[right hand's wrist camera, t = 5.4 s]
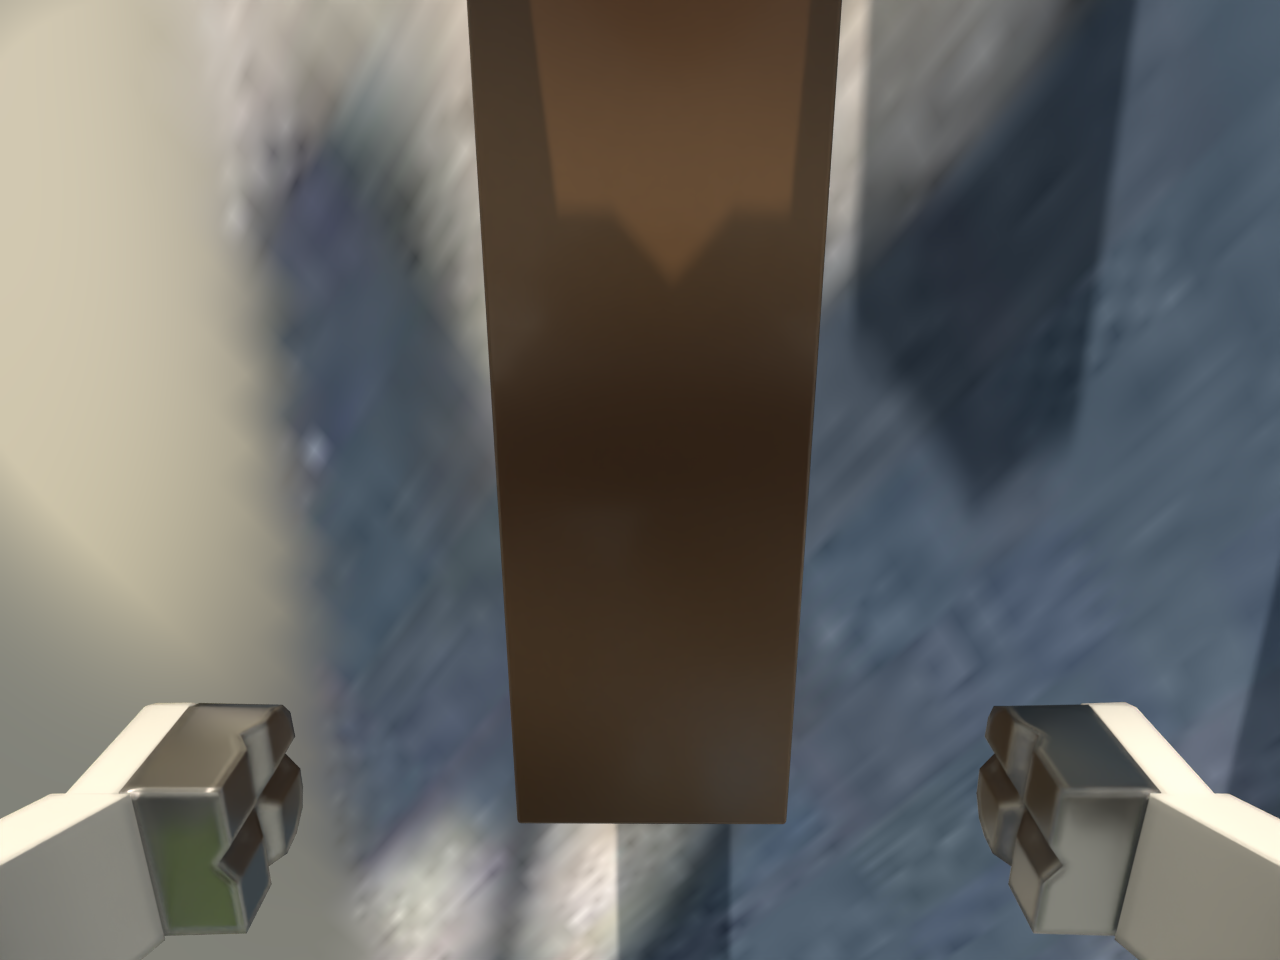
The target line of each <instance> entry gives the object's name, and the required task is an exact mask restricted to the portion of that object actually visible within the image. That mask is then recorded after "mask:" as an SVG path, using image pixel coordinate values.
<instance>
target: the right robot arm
mask: <svg viewBox="0 0 1280 960" xmlns="http://www.w3.org/2000/svg"><path fill="white" fill-rule="evenodd" d="M294 738H295V733H294V728H293V723H292V718H291V713H290V711H289V710H288V709H287V708H285V707H284V706H283V705H268V704H220V703H199V704H195V703H155V704H152V705H149V706H145V707H144V708H143V709H142V710H141V711H140V712H139V713H138V714H137V716H136V717H135V718H134V719H133V720H132V721H131V722H130V723H129V724H128V725H127V727H126V728H125V729H124V730H123V731H122V732H121V733H120V734H119V735H118V736H117V738H116V739H115V740H114V741H113V742H112V743H111V744H110V745H109V746H108V747H107V749H106V750H105V751H104V752H103V753H102V754H101V755H100V756H99V757H98V758H97V760H96V761H95V762H94V763H93V764H92V765H91V766H90V767H89V768H88V769H87V771H86V772H85V773H84V774H83V775H82V776H81V777H80V778H79V779H78V780H77V782H76V783H75V784H74V785H73V786H72V787H71V788H70V789H69V790H68V791H67V793H66V794H50V795H48V796H46V797H44V798H42V799H40V800H38V801H36V802H34V803H32V804H30V805H28V806H25V807H23V808H21V809H20V810H17V811H15V812H13V813H11V814H9V815H7V816H5V817H3V818H1V819H0V960H142V959H143V958H144V957H145V956H147V955H148V954H149V953H150V952H151V951H153V950H154V949H155V948H156V947H157V946H159V945H160V944H161V943H162V942H163V941H164V940H165V936H170V935H205V934H239V933H247V931H248V929H249V927H250V926H251V924H252V922H253V919H254V918H255V916H256V914H257V912H258V910H259V908H260V906H261V904H262V902H263V900H264V898H265V896H266V894H267V892H268V890H269V888H270V886H271V884H272V883H271V877H270V872H269V866H270V865H271V864H273V863H274V862H276V861H277V860H278V859H280V858H281V857H283V856H284V855H285V854H287V853H288V851H289V849H290V846H291V844H292V842H293V840H294V838H295V836H296V834H297V830H298V826H299V821H300V817H301V812H302V808H303V784H302V777H301V770H300V768H299V767H298V766H297V765H296V764H295V763H294V762H293V761H292V760H291V759H290V758H289V757H288V756H287V755H286V754H285V753H286V751H287V750H288V748H289V746H290V744H291V743H292V741H293V739H294ZM985 738H986V739H987V741H988V743H989V744H990V746H991V748H992V750H993V751H994V753H995V754H994V755H993V756H992V757H991V758H990V759H989V760H988V761H987V762H986V763H985V764H984V765H983V766H982V767H981V768H980V770H979V779H978V787H977V802H978V812H979V819H980V823H981V826H982V830H983V833H984V836H985V838H986V840H987V842H988V844H989V847H990V849H991V851H992V853H993V854H994V855H996V856H997V857H999V858H1000V859H1002V860H1003V861H1004V862H1006V863H1007V864H1009V865H1010V866H1011V872H1010V877H1009V883H1008V885H1009V886H1010V888H1011V890H1012V892H1013V894H1014V896H1015V898H1016V900H1017V902H1018V904H1019V906H1020V908H1021V910H1022V912H1023V914H1024V916H1025V918H1026V920H1027V921H1028V923H1029V925H1030V927H1031V929H1032V931H1033V933H1038V934H1073V935H1109V936H1115V940H1116V941H1117V942H1118V943H1119V944H1121V945H1122V946H1123V947H1124V948H1125V949H1127V950H1128V951H1129V952H1130V953H1131V954H1133V955H1134V956H1135V957H1136V958H1137V959H1139V960H1280V819H1279V818H1277V817H1275V816H1273V815H1271V814H1269V813H1267V812H1265V811H1263V810H1260V809H1258V808H1256V807H1254V806H1252V805H1250V804H1248V803H1246V802H1244V801H1242V800H1240V799H1238V798H1236V797H1234V796H1232V795H1230V794H1214V793H1213V792H1212V790H1211V789H1210V788H1209V787H1208V786H1207V785H1206V784H1205V783H1204V782H1203V780H1202V779H1201V778H1200V777H1199V776H1198V775H1197V774H1196V773H1195V772H1194V771H1193V769H1192V768H1191V767H1190V766H1189V765H1188V764H1187V763H1186V762H1185V761H1184V760H1183V758H1182V757H1181V756H1180V755H1179V754H1178V753H1177V752H1176V751H1175V750H1174V749H1173V747H1172V746H1171V745H1170V744H1169V743H1168V742H1167V741H1166V740H1165V739H1164V738H1163V736H1162V735H1161V734H1160V733H1159V732H1158V731H1157V730H1156V729H1155V728H1154V726H1153V725H1152V724H1151V723H1150V722H1149V721H1148V720H1147V719H1146V718H1145V717H1144V715H1143V714H1142V713H1141V712H1140V711H1139V710H1138V709H1137V708H1136V707H1134V706H1132V705H1130V704H1128V703H1125V702H1118V703H1088V704H1081V705H1025V706H994V707H993V709H992V711H991V713H990V715H989V717H988V721H987V727H986V733H985Z"/></svg>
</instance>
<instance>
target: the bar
mask: <svg viewBox="0 0 1280 960" xmlns="http://www.w3.org/2000/svg"><path fill="white" fill-rule="evenodd" d="M841 7H842V0H467V11H468V27H469V43H470V59H471V76H472V92H473V108H474V124H475V140H476V157H477V173H478V189H479V205H480V221H481V238H482V254H483V270H484V286H485V302H486V318H487V335H488V351H489V367H490V383H491V399H492V416H493V432H494V448H495V464H496V480H497V497H498V513H499V529H500V545H501V561H502V578H503V594H504V610H505V626H506V642H507V659H508V675H509V691H510V707H511V723H512V740H513V756H514V772H515V788H516V804H517V819H518V822H519V823H617V824H784V823H785V822H786V817H787V802H788V788H789V773H790V758H791V743H792V729H793V714H794V699H795V684H796V670H797V655H798V640H799V625H800V611H801V596H802V581H803V567H804V552H805V537H806V522H807V508H808V493H809V478H810V463H811V449H812V434H813V419H814V404H815V390H816V375H817V360H818V345H819V331H820V316H821V301H822V287H823V272H824V257H825V242H826V228H827V213H828V198H829V183H830V169H831V154H832V139H833V124H834V110H835V95H836V80H837V65H838V51H839V36H840V21H841Z"/></svg>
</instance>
